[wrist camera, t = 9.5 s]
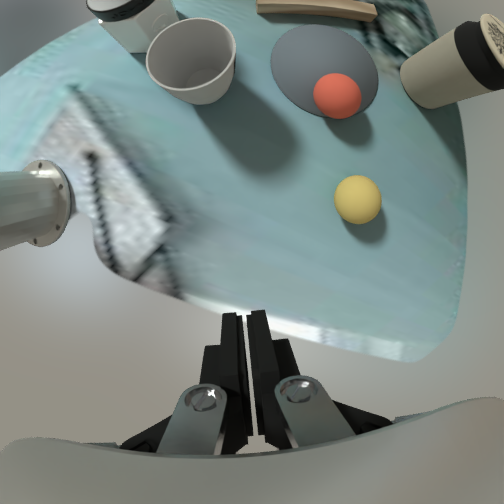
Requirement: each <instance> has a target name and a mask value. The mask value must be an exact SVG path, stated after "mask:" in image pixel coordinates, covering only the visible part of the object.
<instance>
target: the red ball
mask: <svg viewBox="0 0 504 504" xmlns="http://www.w3.org/2000/svg"><path fill="white" fill-rule="evenodd" d="M313 97H314V101H315V104H316V106H317V107H318V109H319V110H320V111H321V112H322V113H324V114H325V115H327V116H329V117H331V118H335V119H343V118H347V117H350V116H352V115H353V114H354V113H355V112H356V111H357V110H358V109H359V107H360V104H361V92H360V89H359V87H358V85H357V84H356V83H355V81H353V80H352V79H351V78H350V77H348V76H346V75H343V74H339V73H332V74H327V75H325V76H323V77H322V78H320V79H319V80H318V82H317V83H316V85H315V87H314V91H313Z"/></svg>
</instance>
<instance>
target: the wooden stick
mask: <svg viewBox="0 0 504 504" xmlns="http://www.w3.org/2000/svg"><path fill="white" fill-rule="evenodd" d="M256 9H257V13H292V14H311V15H323V16H332V17H340V18H347V19H354V20H360V21H366V22H372V21H373V19H374V18H375V17H376V16H377V12H376V9H375V6H374V5H373V4H368V3H363V2H358V1H353V0H256Z"/></svg>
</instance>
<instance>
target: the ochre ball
mask: <svg viewBox="0 0 504 504" xmlns="http://www.w3.org/2000/svg"><path fill="white" fill-rule="evenodd" d="M334 204H335V207H336V210H337V212H338V213H339V215H340V216H341V217H342V218H343V219H345V220H346V221H348V222H350V223H354V224H364V223H367V222H369V221H371V220H372V219H373V218H375V217H376V215H377V214H378V212H379V210H380V208H381V194H380V191H379V189H378V187H377V185H376V184H375V183H374V182H373V181H372V180H370V179H369V178H367V177H364V176H360V175H354V176H350V177H347V178H345V179H344V180H343V181H341V182H340V184H339V185H338V186H337V188H336V190H335V194H334Z"/></svg>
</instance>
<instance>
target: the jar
mask: <svg viewBox="0 0 504 504" xmlns="http://www.w3.org/2000/svg"><path fill="white" fill-rule="evenodd" d="M86 4H87V7H88V9H89V10H90V11H91V12H92V13H93V14H94V15H96V17H97V18H98V21H99V25H101V26H102V27H103V28H104V29H105V30H106V31H107V32H108V33H109V34H110V35H111V36H112V37H113V38H114V39H115V40H116V41H117V42H118V43H119V44H120V45H121V46H122V47H123V48H124V49H125V50H126V51H127V52H128V53H147V51H148V49H149V46H150V44H151V43H152V41H153V40H154V38H155V37H156V36H157V35H158V34H159V33H160V32H161V31H162V30H164V29H165V28H167V27H168V26H170V25H172V24H174V23H176V22H178V21H180V19H179V16H178V13H177V10H176V8H175V6H174V3H173V1H172V0H87V1H86Z"/></svg>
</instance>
